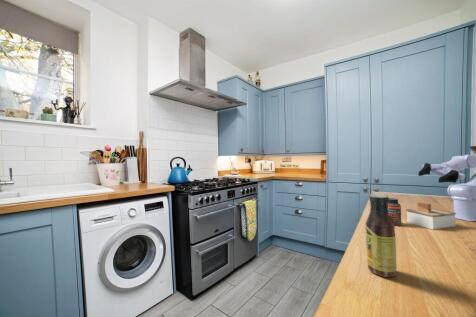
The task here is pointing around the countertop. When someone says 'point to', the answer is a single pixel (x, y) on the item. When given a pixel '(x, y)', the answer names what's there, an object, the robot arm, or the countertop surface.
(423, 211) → the lid
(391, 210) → the supplement bottle
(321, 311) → the countertop surface
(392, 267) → the sauce bottle
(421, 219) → the carton
